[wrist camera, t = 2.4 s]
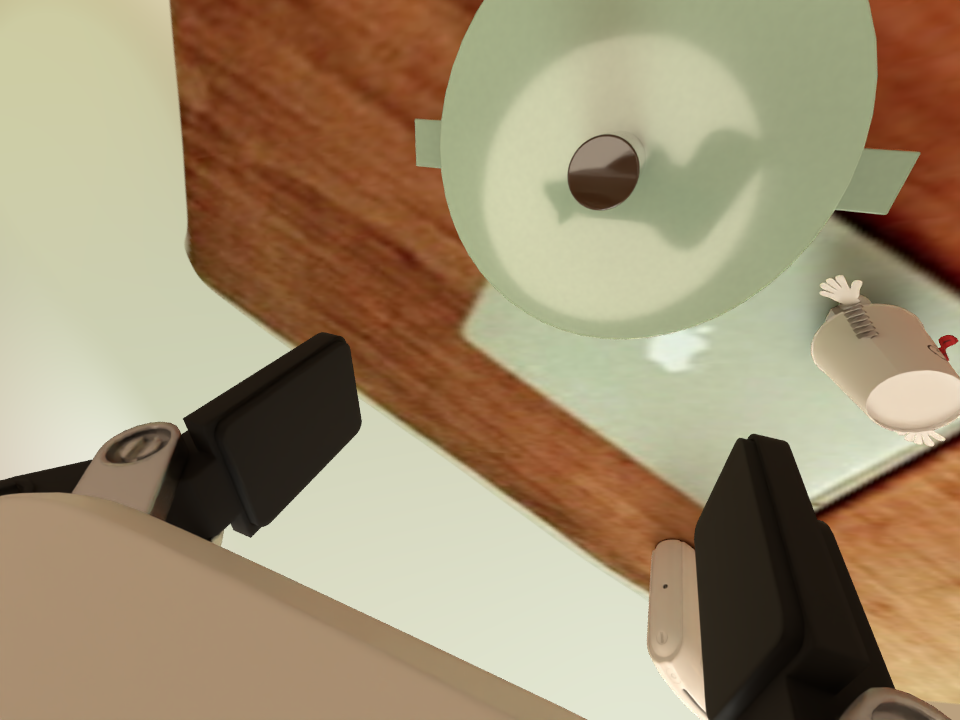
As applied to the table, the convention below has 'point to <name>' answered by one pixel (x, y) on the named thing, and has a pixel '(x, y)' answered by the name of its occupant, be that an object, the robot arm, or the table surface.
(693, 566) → the photo printer
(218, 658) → the robot arm
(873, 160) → the pot
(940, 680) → the table surface
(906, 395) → the toy figure
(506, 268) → the lid
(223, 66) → the table surface
